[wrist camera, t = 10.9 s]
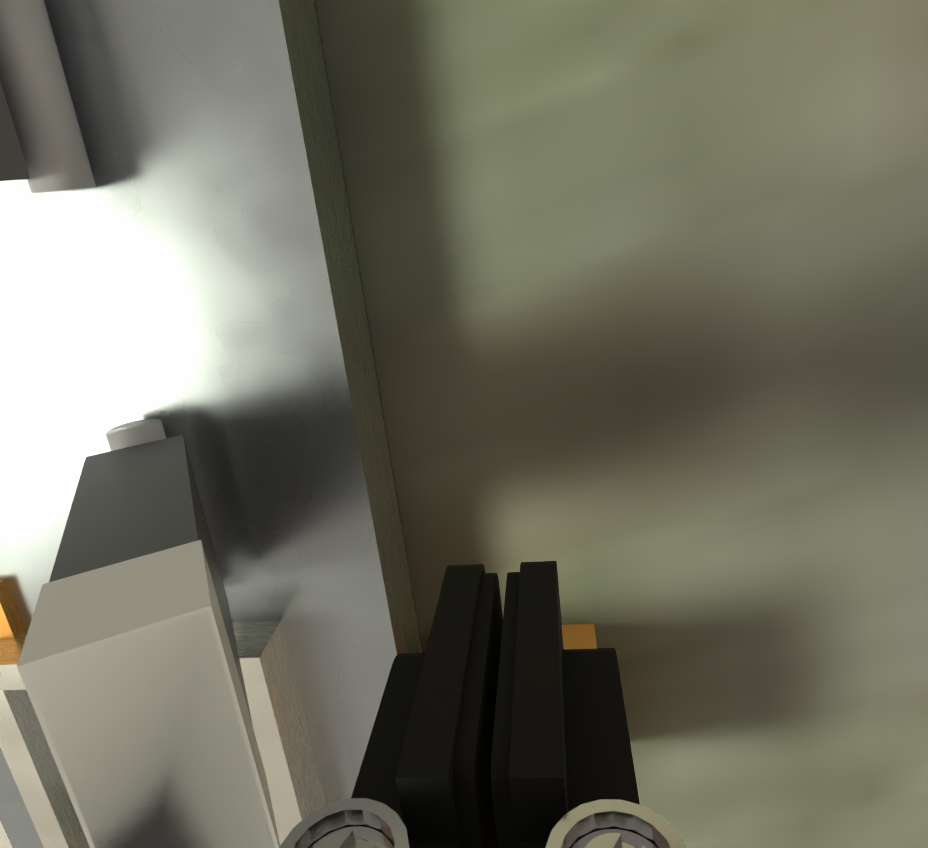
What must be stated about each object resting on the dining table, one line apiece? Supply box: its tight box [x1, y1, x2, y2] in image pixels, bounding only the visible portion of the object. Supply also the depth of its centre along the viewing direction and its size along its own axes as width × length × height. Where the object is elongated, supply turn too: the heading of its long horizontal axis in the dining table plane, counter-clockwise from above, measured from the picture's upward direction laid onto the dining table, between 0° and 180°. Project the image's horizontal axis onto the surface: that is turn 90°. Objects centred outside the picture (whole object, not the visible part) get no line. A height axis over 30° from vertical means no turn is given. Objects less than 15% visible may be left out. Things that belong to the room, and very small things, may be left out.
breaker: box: [17, 419, 280, 848], centre depth 13 cm, size 2×5×9 cm, turn 7°
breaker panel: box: [0, 0, 422, 848], centre depth 17 cm, size 14×28×4 cm, turn 7°
